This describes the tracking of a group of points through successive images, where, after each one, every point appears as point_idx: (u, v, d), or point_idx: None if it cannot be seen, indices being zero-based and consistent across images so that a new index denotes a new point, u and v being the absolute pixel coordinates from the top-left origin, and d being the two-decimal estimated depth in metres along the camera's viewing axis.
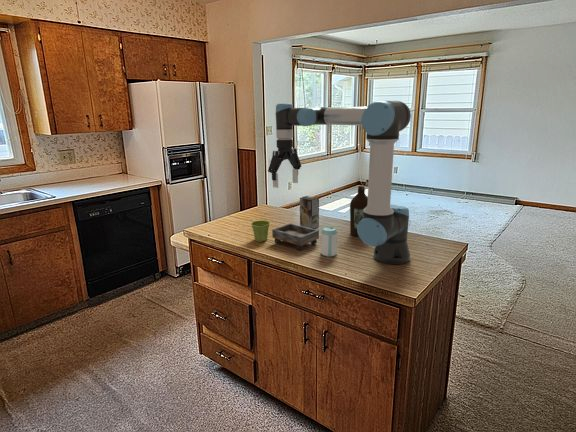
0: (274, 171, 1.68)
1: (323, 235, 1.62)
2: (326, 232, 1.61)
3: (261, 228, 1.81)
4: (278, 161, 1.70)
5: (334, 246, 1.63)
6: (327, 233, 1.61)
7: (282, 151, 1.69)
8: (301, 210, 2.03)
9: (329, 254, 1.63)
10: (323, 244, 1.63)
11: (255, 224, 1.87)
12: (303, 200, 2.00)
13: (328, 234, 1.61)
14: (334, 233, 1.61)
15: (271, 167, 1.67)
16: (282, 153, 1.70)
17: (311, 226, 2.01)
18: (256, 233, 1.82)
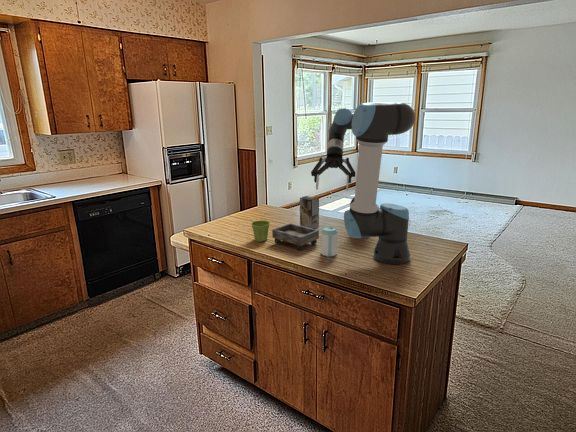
0: (315, 173, 1.73)
1: (323, 235, 1.62)
2: (326, 232, 1.61)
3: (261, 228, 1.81)
4: None
5: (334, 246, 1.63)
6: (327, 233, 1.61)
7: (328, 158, 1.76)
8: (301, 210, 2.03)
9: (329, 254, 1.63)
10: (323, 244, 1.63)
11: (255, 224, 1.87)
12: (303, 200, 2.00)
13: (328, 234, 1.61)
14: (334, 233, 1.61)
15: None
16: (327, 159, 1.76)
17: (311, 226, 2.01)
18: (256, 233, 1.82)
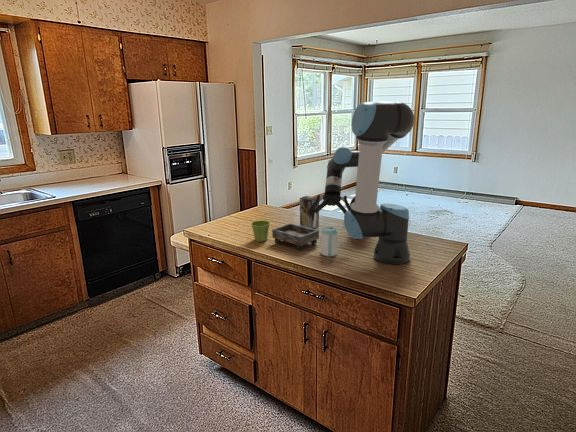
0: (312, 211, 1.74)
1: (323, 235, 1.62)
2: (326, 232, 1.61)
3: (261, 228, 1.81)
4: None
5: (334, 246, 1.63)
6: (327, 233, 1.61)
7: (326, 196, 1.77)
8: (301, 210, 2.03)
9: (329, 254, 1.63)
10: (323, 244, 1.63)
11: (255, 224, 1.87)
12: (303, 200, 2.00)
13: (328, 234, 1.61)
14: (334, 233, 1.61)
15: None
16: (325, 197, 1.76)
17: (311, 226, 2.01)
18: (256, 233, 1.82)
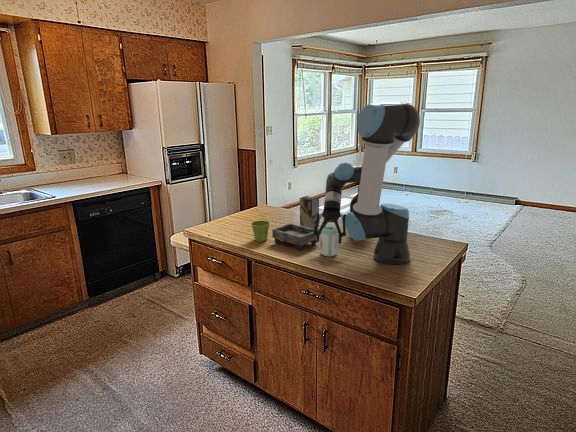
0: (317, 232, 1.66)
1: (323, 235, 1.62)
2: (326, 232, 1.61)
3: (261, 228, 1.81)
4: None
5: (334, 246, 1.63)
6: (327, 233, 1.61)
7: (324, 212, 1.70)
8: (301, 210, 2.03)
9: (329, 254, 1.63)
10: (323, 244, 1.63)
11: (255, 224, 1.87)
12: (303, 200, 2.00)
13: (328, 234, 1.61)
14: (334, 233, 1.61)
15: (314, 228, 1.68)
16: (325, 213, 1.70)
17: (311, 226, 2.01)
18: (256, 233, 1.82)
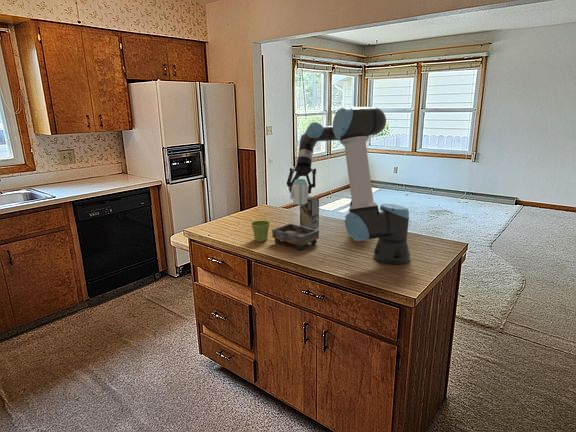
0: (290, 184, 1.87)
1: (294, 185, 1.83)
2: (297, 182, 1.82)
3: (261, 228, 1.81)
4: None
5: (304, 195, 1.84)
6: (298, 183, 1.82)
7: (297, 167, 1.91)
8: (301, 210, 2.03)
9: (300, 202, 1.84)
10: (294, 194, 1.84)
11: (255, 224, 1.87)
12: None
13: (298, 184, 1.81)
14: (304, 183, 1.82)
15: None
16: (297, 168, 1.91)
17: (311, 226, 2.01)
18: (256, 233, 1.82)
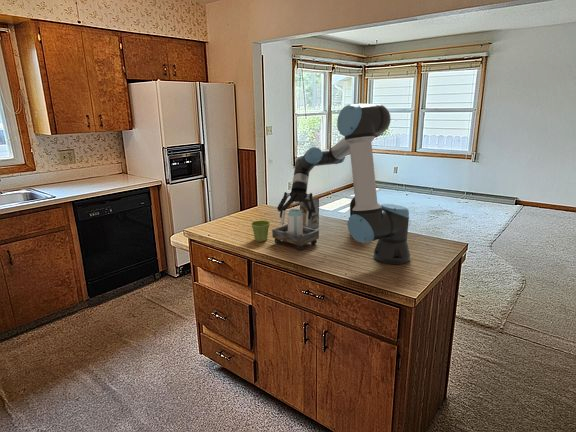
0: (281, 208, 1.79)
1: (289, 216, 1.74)
2: (292, 213, 1.73)
3: (261, 228, 1.81)
4: None
5: (299, 227, 1.75)
6: (293, 214, 1.73)
7: (292, 192, 1.82)
8: (301, 210, 2.03)
9: (295, 234, 1.75)
10: (289, 225, 1.75)
11: (255, 224, 1.87)
12: None
13: (293, 216, 1.73)
14: (299, 214, 1.74)
15: None
16: (292, 194, 1.81)
17: (311, 226, 2.01)
18: (256, 233, 1.82)
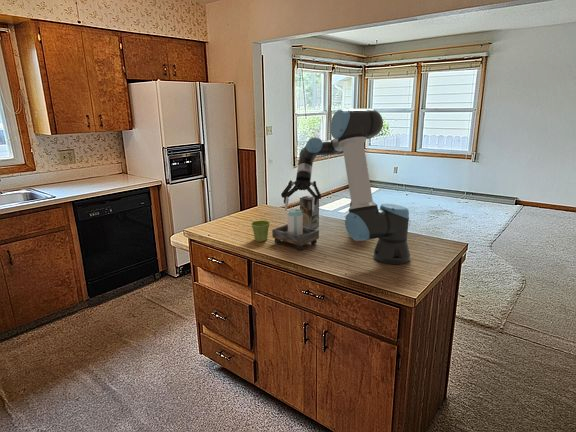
0: (284, 195, 1.90)
1: (289, 216, 1.74)
2: (292, 214, 1.73)
3: (261, 228, 1.81)
4: None
5: (299, 227, 1.75)
6: (293, 214, 1.73)
7: (297, 181, 1.93)
8: (301, 210, 2.03)
9: (295, 234, 1.75)
10: (289, 225, 1.75)
11: (255, 224, 1.87)
12: (303, 200, 2.00)
13: (293, 216, 1.73)
14: (299, 214, 1.73)
15: None
16: (296, 182, 1.93)
17: (311, 226, 2.01)
18: (256, 233, 1.82)
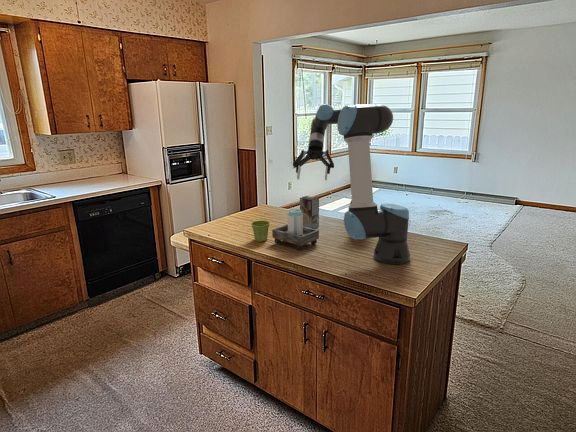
0: (296, 164, 1.86)
1: (289, 216, 1.74)
2: (292, 214, 1.73)
3: (261, 228, 1.81)
4: None
5: (299, 227, 1.75)
6: (293, 214, 1.73)
7: (309, 150, 1.89)
8: (301, 210, 2.03)
9: (295, 234, 1.75)
10: (289, 225, 1.75)
11: (255, 224, 1.87)
12: (303, 200, 2.00)
13: (293, 216, 1.73)
14: (299, 214, 1.73)
15: None
16: (309, 152, 1.89)
17: (311, 226, 2.01)
18: (256, 233, 1.82)
